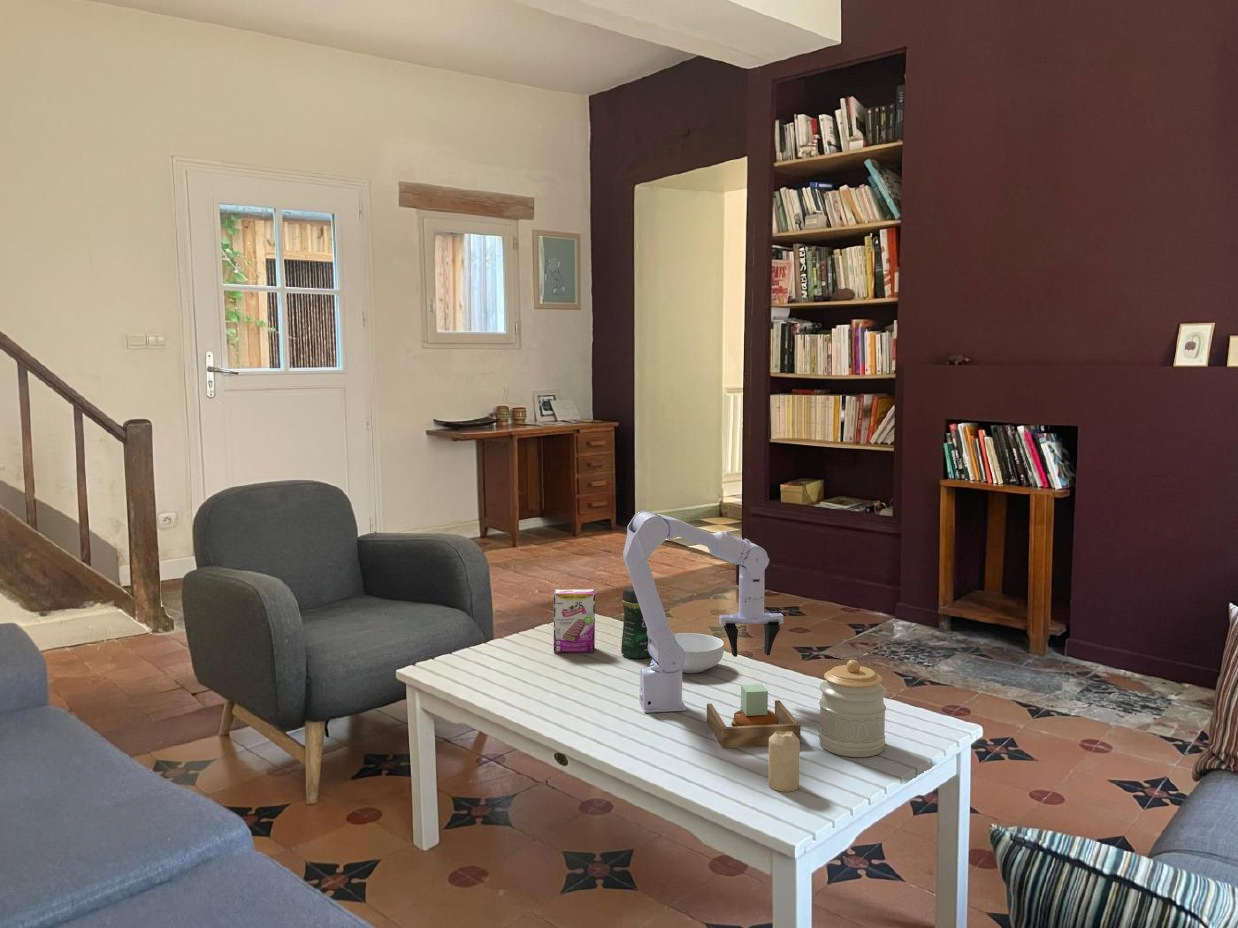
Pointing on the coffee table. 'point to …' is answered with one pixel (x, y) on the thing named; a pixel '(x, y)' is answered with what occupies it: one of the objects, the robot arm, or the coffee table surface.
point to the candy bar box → (574, 621)
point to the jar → (852, 711)
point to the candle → (783, 761)
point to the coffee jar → (633, 627)
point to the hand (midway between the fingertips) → (750, 654)
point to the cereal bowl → (699, 651)
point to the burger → (753, 719)
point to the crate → (751, 729)
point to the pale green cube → (754, 700)
